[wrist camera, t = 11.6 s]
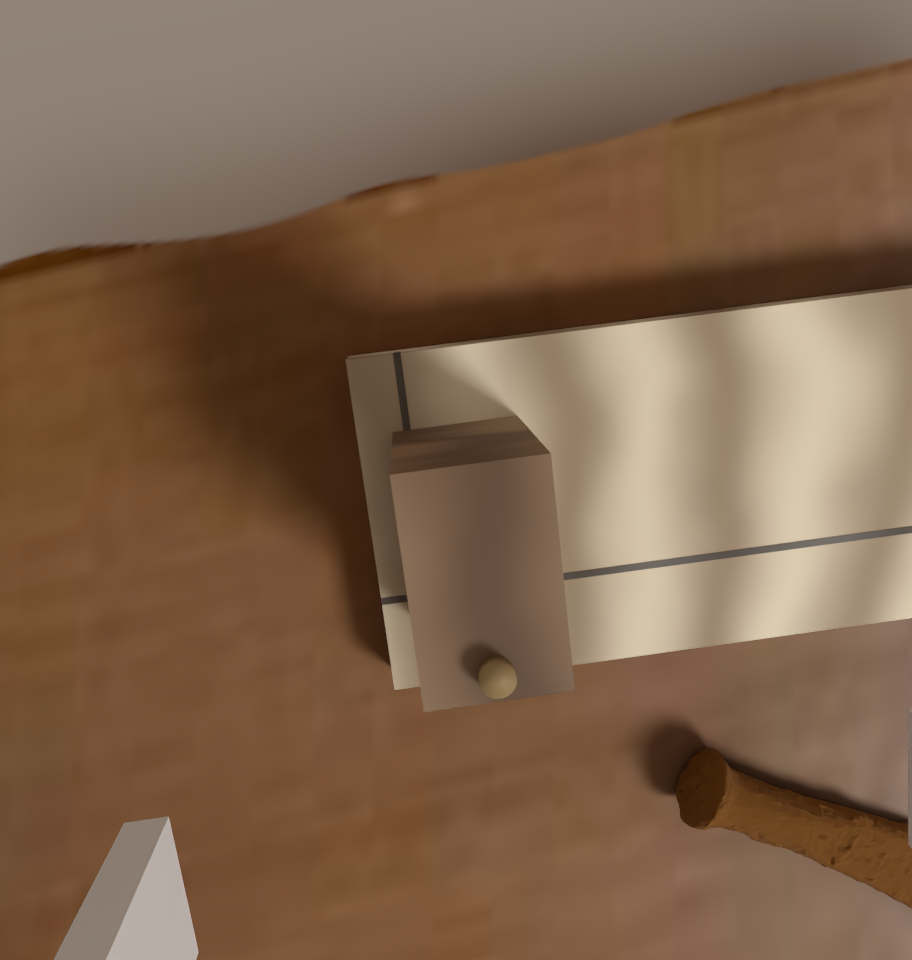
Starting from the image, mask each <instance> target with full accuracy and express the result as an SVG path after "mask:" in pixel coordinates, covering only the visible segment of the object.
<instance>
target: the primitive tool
mask: <svg viewBox="0 0 912 960" xmlns="http://www.w3.org/2000/svg"><path fill="white" fill-rule="evenodd" d="M676 796H677V801H678V803H679V808H680V816H681V819H682V821H683V822H685V823H686V824H687V825H689V826H691V827H693V828H696V829H703V830H706V829H709V828H715V827H721V828H724V829H728V830H733V831H738V832H741V833H744V834H746V835H747V836H749V837H750V838H751V839H753V840H755V841H758V842H762V843H766V844H770V845H773V846H777V847H782V848H786V849H789V850H792V851H793V852H795V853H797V854H801V855H803V856H805V857H808V858H811V859H813V860H814V861H816V862H818V863H819V864H821V865H823V866H824V867H829V868H832V869H834V870H836V871H838V872H841V873H843V874H845V875H847V876H850V877H851V878H853V879H855V880H856V881H859V882H863V883H866V884H867V885H869V886H871V887H873V888H874V889H876V890H877V891H880V892H884V893H885V894H887V895H888V896H890V897H892V898H893V899H895V900H896V901H899V902H901V903H904V904H906V905H907V906H908V907H910V908H912V848H911V847H910V846H909V845H908V822H901V823H900V822H897V821H891V820H888V819H887V818H884V817H880V816H877V815H873V814H869V813H866V812H864V811H860V810H855V809H852V808H849V807H844V806H841V805H838V804H836V803H831V802H826V801H823V800H819V799H814V798H812V797H810V796H804V795H802V794H799V793H795V792H792V791H791V790H789V789H781V788H778V787H776V786H773V785H770V784H768V783H766V782H764V781H762V780H757V779H755V778H752V777H750V776H748V775H746V774H743V773H742V772H740V771H737V770H734V769H732V768H730V767H729V765H728V764H727V763H726V761H725V759H724V758H723V756H722V755H721V754H720V753H719V752H718V751H716V750H715V749H701V750H700V751H699V752H697V753H696V754H695V755H694V756H693V757H692V758H691V759H690V760H689V762H688V764H687V767H686V768H685V769H684V770H683V771H682V772H681V774H680V779H679V781H678V784H677V787H676Z"/></svg>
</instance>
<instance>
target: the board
mask: <svg viewBox="0 0 912 960" xmlns="http://www.w3.org/2000/svg"><path fill="white" fill-rule="evenodd" d="M345 361H346V367H347V374H348V381H349V388H350V394H351V401H352V408H353V414H354V421H355V428H356V434H357V441H358V448H359V455H360V461H361V468H362V475H363V481H364V488H365V495H366V501H367V508H368V515H369V522H370V528H371V535H372V542H373V548H374V555H375V562H376V568H377V575H378V582H379V589H380V595H381V602H382V609H383V615H384V622H385V629H386V635H387V642H388V649H389V656H390V662H391V669H392V676H393V682H394V689H395V690H398V689H405V688H413V687H420V682H419V675H418V668H417V661H416V654H415V647H414V640H413V633H412V626H411V620H410V613H409V606H408V599H407V592H406V585H405V578H404V571H403V564H402V557H401V551H400V544H399V537H398V530H397V523H396V516H395V509H394V502H393V495H392V488H391V482H390V461H391V447H392V432H397V431H405V430H412V429H420V428H428V427H435V426H443V425H450V424H458V423H465V422H473V421H480V420H488V419H495V418H503V417H510V416H518V417H519V418H520V419H521V420H522V421H523V422H524V424H525V425H526V426H527V427H528V428H529V429H530V430H531V431H532V433H533V434H534V435H535V436H536V437H537V438H538V439H539V440H540V442H541V443H542V444H543V445H544V446H545V447H546V448H547V449H548V451H549V452H550V453H551V459H552V469H553V479H554V488H555V498H556V508H557V518H558V528H559V538H560V548H561V557H562V567H563V577H564V587H565V597H566V607H567V617H568V627H569V636H570V646H571V656H572V665H578V664H585V663H592V662H599V661H606V660H613V659H621V658H628V657H635V656H642V655H649V654H657V653H664V652H671V651H678V650H685V649H692V648H700V647H707V646H714V645H721V644H728V643H735V642H743V641H750V640H757V639H764V638H771V637H778V636H786V635H793V634H800V633H807V632H814V631H822V630H829V629H836V628H843V627H850V626H857V625H865V624H872V623H879V622H886V621H893V620H900V619H908V618H912V285H905V286H897V287H889V288H881V289H873V290H865V291H858V292H850V293H842V294H834V295H826V296H818V297H810V298H802V299H795V300H787V301H779V302H771V303H763V304H755V305H747V306H739V307H732V308H724V309H716V310H708V311H700V312H692V313H684V314H676V315H668V316H661V317H653V318H645V319H637V320H629V321H621V322H613V323H605V324H598V325H590V326H582V327H574V328H566V329H558V330H550V331H542V332H534V333H527V334H519V335H511V336H503V337H495V338H487V339H479V340H471V341H464V342H456V343H448V344H440V345H432V346H424V347H416V348H408V349H400V350H393V351H385V352H377V353H369V354H361V355H353V356H348V357H347V359H346V360H345Z"/></svg>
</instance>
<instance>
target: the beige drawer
mask: <svg viewBox="0 0 912 960" xmlns="http://www.w3.org/2000/svg"><path fill="white" fill-rule="evenodd" d="M390 482H391V488H392V495H393V502H394V509H395V516H396V523H397V530H398V537H399V544H400V551H401V557H402V564H403V571H404V578H405V585H406V592H407V599H408V606H409V613H410V620H411V626H412V633H413V640H414V647H415V654H416V661H417V668H418V675H419V682H420V689H421V696H422V702H423V709H424V712H429V711H436V710H443V709H450V708H457V707H464V706H471V705H478V704H485V703H492V702H499V701H506V700H513V699H520V698H527V697H534V696H541V695H548V694H555V693H562V692H569V691H575V686H574V676H573V666H572V656H571V646H570V636H569V627H568V617H567V607H566V597H565V587H564V577H563V567H562V557H561V548H560V538H559V528H558V518H557V508H556V498H555V488H554V479H553V469H552V459H551V453H550V452H549V451H548V449H547V448H546V447H545V446H544V445H543V444H542V443H541V442H540V440H539V439H538V438H537V437H536V436H535V435H534V434H533V433H532V431H531V430H530V429H529V428H528V427H527V426H526V425H525V424H524V422H523V421H522V420H521V419H520V418H519V417H518V416H510V417H503V418H495V419H488V420H480V421H473V422H465V423H458V424H450V425H443V426H435V427H428V428H420V429H412V430H405V431H397V432H392V447H391V461H390Z"/></svg>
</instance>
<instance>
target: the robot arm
mask: <svg viewBox="0 0 912 960" xmlns="http://www.w3.org/2000/svg"><path fill="white" fill-rule="evenodd" d="M908 845H909V846H910V847H911V848H912V709H908ZM197 955H198V947H197V943H196V938H195V934H194V929H193V924H192V920H191V915H190V911H189V906H188V902H187V897H186V893H185V888H184V884H183V879H182V875H181V870H180V866H179V861H178V857H177V852H176V848H175V843H174V838H173V834H172V829H171V825H170V820H169V817H162V818H155V819H148V820H141V821H134V822H128V823H124V824H123V826H122V828H121V830H120V832H119V834H118V836H117V838H116V840H115V842H114V844H113V846H112V848H111V849H110V851H109V853H108V855H107V857H106V859H105V861H104V863H103V865H102V867H101V869H100V871H99V873H98V875H97V877H96V879H95V881H94V882H93V884H92V886H91V888H90V890H89V892H88V894H87V896H86V898H85V900H84V902H83V904H82V906H81V908H80V910H79V912H78V914H77V915H76V917H75V919H74V921H73V923H72V925H71V927H70V929H69V931H68V933H67V935H66V937H65V939H64V941H63V943H62V945H61V946H60V948H59V950H58V952H57V954H56V956H55V958H54V960H196V958H197Z"/></svg>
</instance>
